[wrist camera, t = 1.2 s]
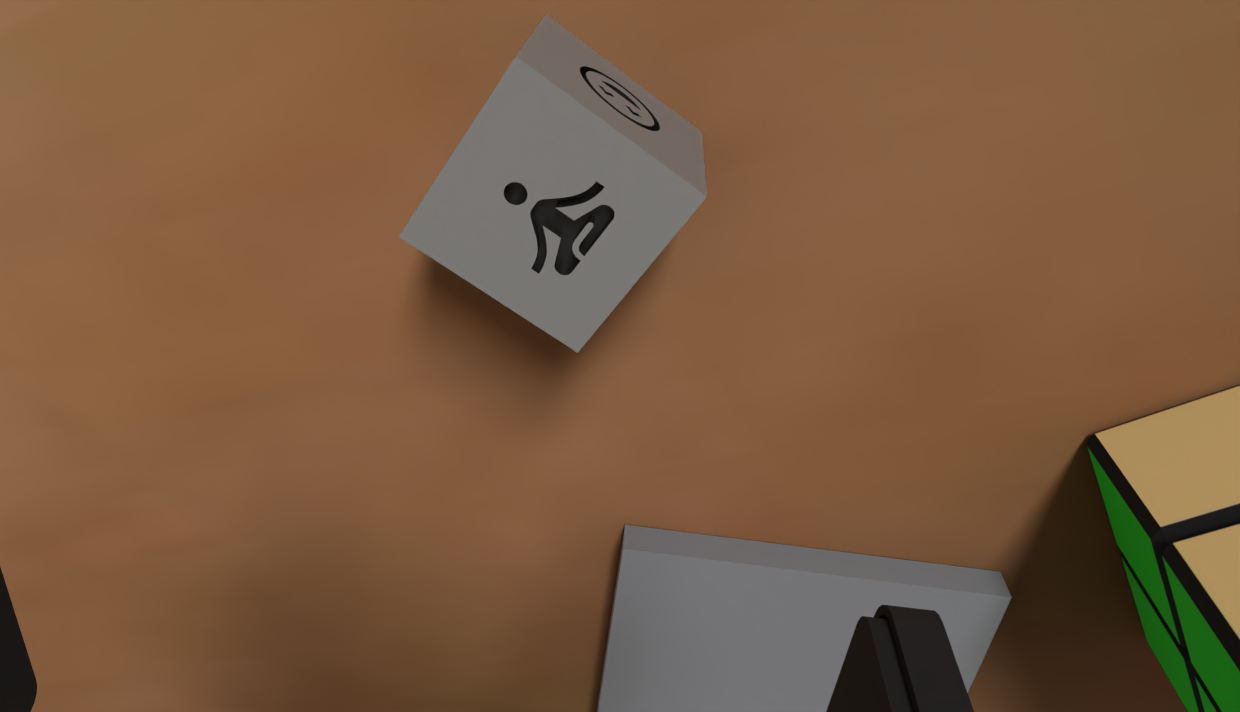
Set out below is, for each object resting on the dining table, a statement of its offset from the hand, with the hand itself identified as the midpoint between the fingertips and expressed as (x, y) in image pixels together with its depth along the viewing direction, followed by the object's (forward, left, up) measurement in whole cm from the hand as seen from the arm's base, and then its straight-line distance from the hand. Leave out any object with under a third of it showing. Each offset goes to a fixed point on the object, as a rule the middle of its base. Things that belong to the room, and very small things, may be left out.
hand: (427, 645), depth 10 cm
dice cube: (0, 0, -17) cm, 17 cm away
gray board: (-9, +20, -17) cm, 28 cm away
